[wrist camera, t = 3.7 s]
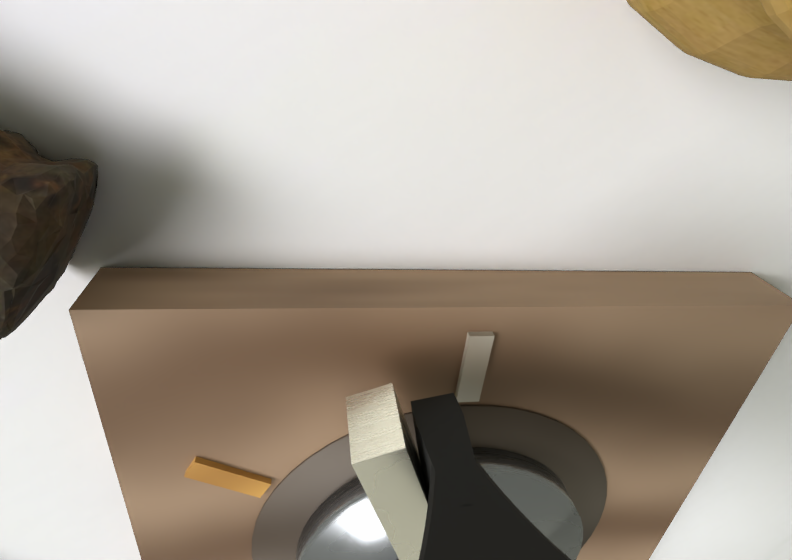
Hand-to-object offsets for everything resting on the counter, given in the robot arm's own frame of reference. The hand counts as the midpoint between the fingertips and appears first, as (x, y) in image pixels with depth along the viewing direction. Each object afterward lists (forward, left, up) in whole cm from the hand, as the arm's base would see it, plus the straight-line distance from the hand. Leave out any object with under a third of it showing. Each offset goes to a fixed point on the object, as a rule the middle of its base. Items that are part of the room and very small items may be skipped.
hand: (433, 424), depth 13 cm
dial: (-5, -1, -1) cm, 6 cm away
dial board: (-7, -1, -4) cm, 8 cm away
